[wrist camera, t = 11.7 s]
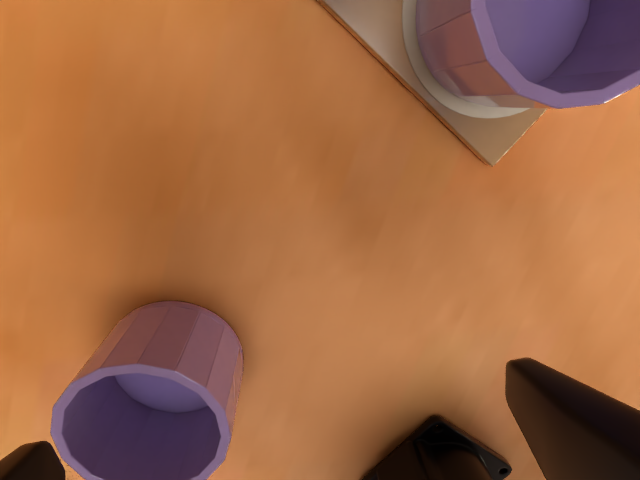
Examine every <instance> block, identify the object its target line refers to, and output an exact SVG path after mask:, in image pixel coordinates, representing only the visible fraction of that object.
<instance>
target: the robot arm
mask: <svg viewBox="0 0 640 480" xmlns="http://www.w3.org/2000/svg"><path fill="white" fill-rule="evenodd" d="M505 395H506V400H507V403H508V406H509V408H510V410H511V412H512V414H513V416H514V418H515V420H516V422H517V424H518V425H519V427H520V429H521V431H522V433H523V435H524V437H525V439H526V441H527V443H528V445H529V447H530V449H531V451H532V453H533V455H534V457H535V459H536V461H537V463H538V465H539V467H540V468H541V470H542V472H543V474H544V476H545V478H546V480H640V411H639V410H637V409H635V408H633V407H631V406H629V405H626V404H624V403H622V402H620V401H618V400H616V399H614V398H612V397H610V396H608V395H606V394H604V393H602V392H600V391H598V390H596V389H593V388H591V387H589V386H587V385H585V384H583V383H581V382H579V381H577V380H575V379H573V378H571V377H569V376H567V375H565V374H563V373H560V372H558V371H556V370H554V369H552V368H550V367H548V366H546V365H544V364H542V363H540V362H538V361H536V360H534V359H531V358H521V359H515V360H510V361H508V362H507V365H506V385H505ZM436 425H438V426H436ZM511 471H512V468H511V466H510V465H509V463H508V461H507V460H506V459H504V458H503V457H501V456H500V455H498V454H497V453H495V452H494V451H492V450H491V449H489V448H488V447H486V446H485V445H483V444H482V443H480V442H479V441H477V440H476V439H474V438H472V437H471V436H469V435H468V434H466V433H465V432H463V431H462V430H460V429H459V428H457V427H456V426H454V425H453V424H451V423H450V422H448V421H447V420H445V419H444V418H442V417H440V416H433V417H431V418H429V419H428V420H427V421H426V422H425V423H424V424H422V425H421V426H420V427H419V428H418V429H417V430H416V431H415V432H414V433H413V434H411V435H410V436H409V437H408V438H407V439H406V440H405V441H404V442H403V443H401V444H400V445H399V446H398V447H397V448H396V449H395V450H394V451H393V452H392V453H390V454H389V455H388V456H387V457H386V458H385V459H384V460H383V461H382V462H380V463H379V464H378V465H377V466H376V467H375V468H374V469H373V470H372V471H371V472H369V473H368V474H367V475H366V476H365V477H364V478H363V479H362V480H503V479H504V478H505V477H507V476H508V475H509V474H510V473H511ZM0 480H65V470H64V467H63V466H62V464H61V462H60V460H59V458H58V456H57V454H56V453H55V451H54V449H53V447H52V445H51V444H50V443H48V442H47V441H39V442H33V443H28V444H24V445H22V446H20V447H19V448H17V449H16V450H14V451H13V452H12V453H10V454H9V455H7V456H6V457H5V458H3V459H2V460H1V461H0Z"/></svg>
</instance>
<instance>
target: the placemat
mask: <svg viewBox="0 0 640 480" xmlns="http://www.w3.org/2000/svg"><path fill="white" fill-rule="evenodd" d="M317 1H318V2H319V3H320V4H321V5H322V6H323V7H324V8H325V9H326V10H327V11H328V12H329V13H330V14H331V15H332V16H333V17H334V18H335V19H336V20H337V21H339V22H340V23H341V24H342V25H343V26H344V27H345V28H346V29H347V30H348V31H349V32H350V33H351V34H352V35H353V36H354V37H355V38H356V39H357V40H358V41H359V42H360V43H361V44H362V45H363V46H364V47H365V48H366V49H367V50H368V51H369V52H370V53H371V54H372V55H374V56H375V57H376V58H377V59H378V60H379V61H380V62H381V63H382V64H383V65H384V66H385V67H386V68H387V69H388V70H389V71H390V72H391V73H392V74H393V75H394V76H395V77H396V78H397V79H398V80H399V81H400V82H401V83H402V84H403V85H404V86H405V87H406V88H407V89H409V90H410V91H411V92H412V93H413V94H414V95H415V96H416V97H417V98H418V99H419V100H420V101H421V102H422V103H423V104H424V105H425V106H426V107H427V108H428V109H429V110H430V111H431V112H432V113H433V114H434V115H435V116H436V117H437V118H438V119H439V120H440V121H441V122H442V123H444V124H445V125H446V126H447V127H448V128H449V129H450V130H451V131H452V132H453V133H454V134H455V135H456V136H457V137H458V138H459V139H460V140H461V141H462V142H463V143H464V144H465V145H466V146H467V147H468V148H469V149H470V150H471V151H472V152H473V153H474V154H475V155H476V156H477V157H479V158H480V159H481V160H482V161H483V162H484V163H485V164H486V165H489V166H492V167H493V166H494V165H495V164H496V163H497V162H498V161H499V160H500V159H501V158H502V157H503V156H504V155H505V154H506V153H507V151H508V150H509V149H510V148H511V147H512V146H513V145H514V144H515V143H516V142H517V141H518V140H519V139H520V138H521V137H522V136H523V134H524V133H525V132H526V131H527V130H528V129H529V128H530V127H531V126H532V125H533V124H534V123H535V122H536V121H537V120H538V119H539V117H540V116H541V115H542V114H543V113H544V112H545V111H546V110H547V109H545V108H509V107H486V106H483V105H478V104H474V103H470V102H467V101H464V100H462V99H460V98H457V97H456V96H454V95H453V94H451V93H450V92H448V91H447V90H446V89H445V88H444V87H442V86H441V85H440V84H439V82H438V81H437V80H436V79H435V78H434V77H433V75H432V74H431V72H430V70H429V69H428V67H427V65H426V63H425V61H424V59H423V57H422V54H421V50H420V47H419V44H418V38H417V33H416V19H415V17H416V2H417V0H317Z"/></svg>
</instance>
